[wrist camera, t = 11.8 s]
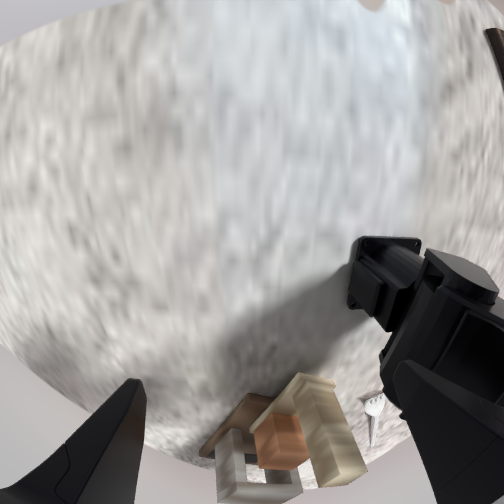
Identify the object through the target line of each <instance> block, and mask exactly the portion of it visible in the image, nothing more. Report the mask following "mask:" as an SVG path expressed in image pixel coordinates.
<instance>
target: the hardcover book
mask: <svg viewBox="0 0 504 504" xmlns="http://www.w3.org/2000/svg"><path fill="white" fill-rule="evenodd" d="M486 32H487V34H488V37H489V39H490V42H491V44H492V47H493V49H494V52H495V55H496V58H497V61H498V64H499V67H500V70H501V73H502V76H503V80H504V31H503V30H500V29H498V28H490V29H486Z"/></svg>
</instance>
